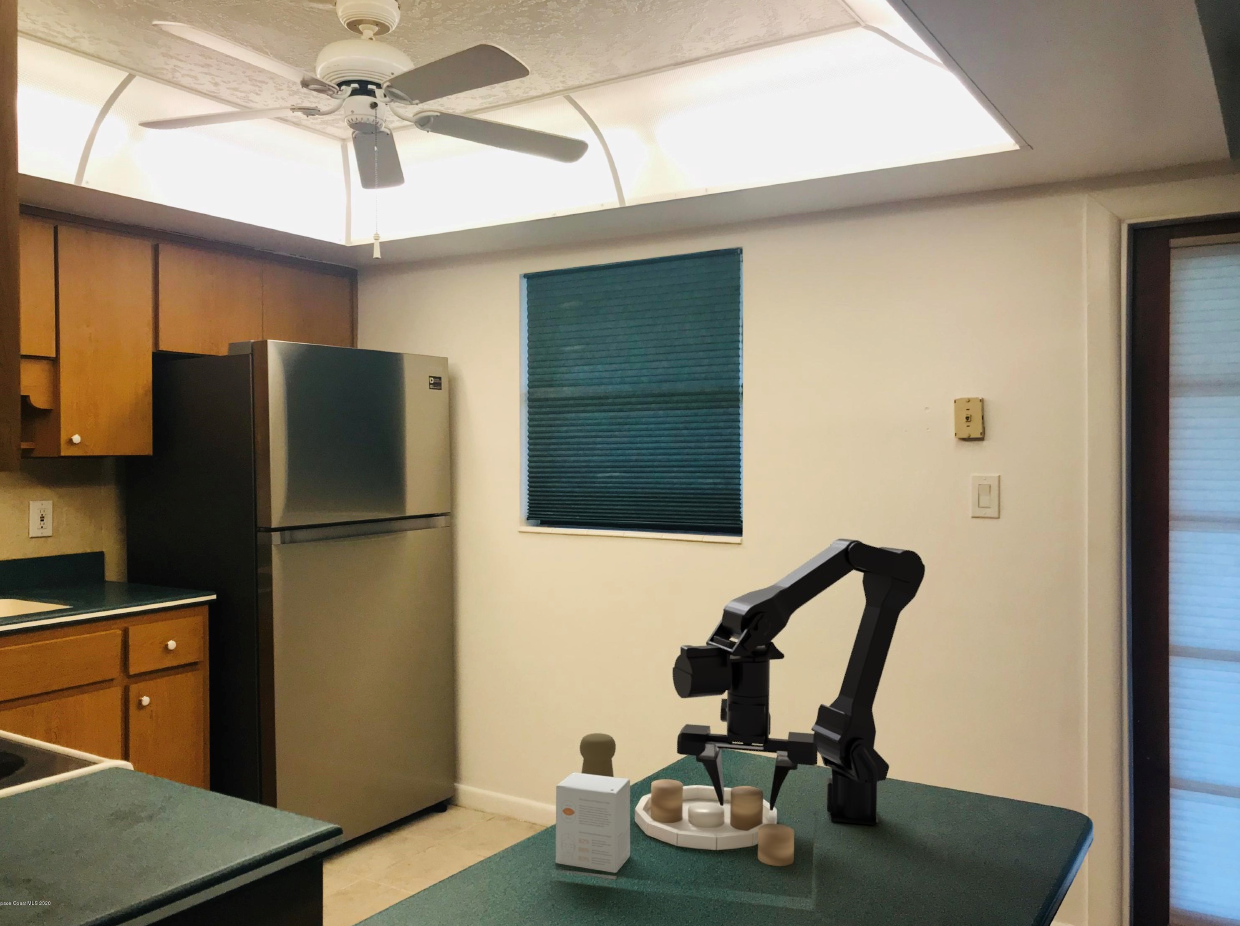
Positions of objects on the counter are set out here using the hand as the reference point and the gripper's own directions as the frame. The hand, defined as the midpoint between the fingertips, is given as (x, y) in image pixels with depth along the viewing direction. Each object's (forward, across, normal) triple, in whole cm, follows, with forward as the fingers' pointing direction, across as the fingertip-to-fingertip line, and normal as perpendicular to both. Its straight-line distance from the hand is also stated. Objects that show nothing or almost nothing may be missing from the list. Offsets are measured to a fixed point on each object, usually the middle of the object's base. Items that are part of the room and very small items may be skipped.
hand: (746, 807), depth 125 cm
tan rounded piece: (+2, 0, 0) cm, 2 cm away
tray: (+3, +6, 0) cm, 6 cm away
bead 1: (+2, +11, 0) cm, 11 cm away
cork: (+4, +22, -2) cm, 22 cm away
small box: (+4, +18, +16) cm, 24 cm away
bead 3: (+4, -4, +10) cm, 12 cm away
